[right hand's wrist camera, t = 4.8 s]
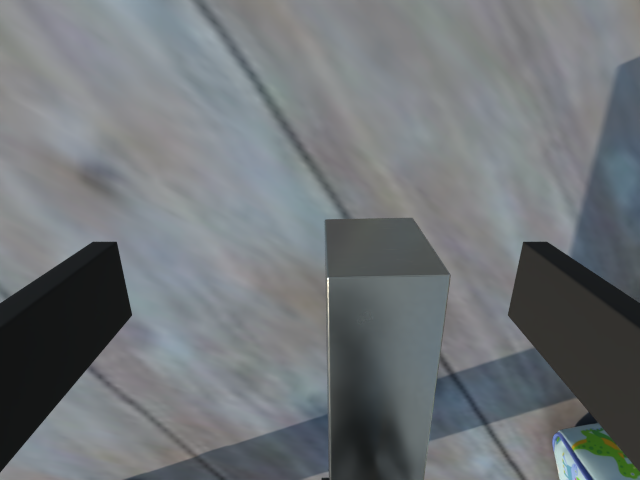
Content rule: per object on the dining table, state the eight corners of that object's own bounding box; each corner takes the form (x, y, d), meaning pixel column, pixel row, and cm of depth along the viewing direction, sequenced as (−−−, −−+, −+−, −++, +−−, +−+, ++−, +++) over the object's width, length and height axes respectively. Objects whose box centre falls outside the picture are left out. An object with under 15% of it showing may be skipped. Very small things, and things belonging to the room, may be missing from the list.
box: (324, 219, 27) (327, 277, 19) (412, 217, 27) (451, 274, 19) (328, 466, 37) (331, 569, 29) (392, 465, 37) (412, 568, 29)
